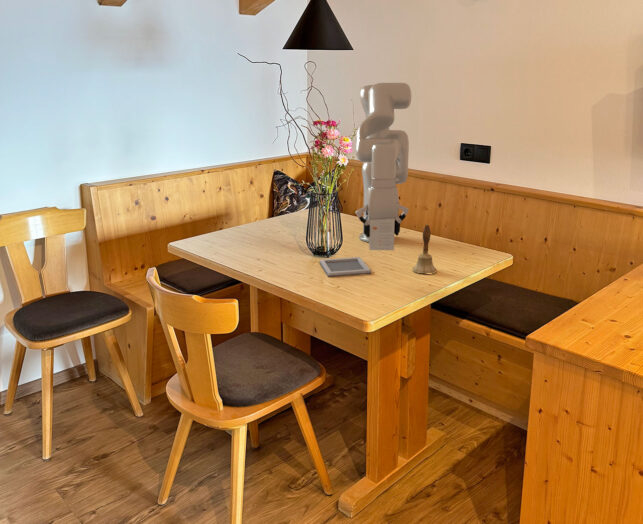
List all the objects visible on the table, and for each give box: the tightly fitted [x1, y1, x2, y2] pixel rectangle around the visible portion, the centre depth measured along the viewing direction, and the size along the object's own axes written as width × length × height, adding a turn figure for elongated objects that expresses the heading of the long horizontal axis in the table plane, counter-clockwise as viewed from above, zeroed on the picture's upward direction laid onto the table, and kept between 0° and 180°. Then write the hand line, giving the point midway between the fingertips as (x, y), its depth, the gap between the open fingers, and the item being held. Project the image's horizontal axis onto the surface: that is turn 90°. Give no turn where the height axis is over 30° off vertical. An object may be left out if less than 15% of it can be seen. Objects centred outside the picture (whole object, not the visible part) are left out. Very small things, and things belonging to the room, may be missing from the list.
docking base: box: [318, 256, 372, 278], centre depth 221 cm, size 15×14×1 cm
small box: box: [368, 218, 395, 251], centre depth 206 cm, size 8×6×10 cm
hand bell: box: [411, 224, 437, 275], centre depth 216 cm, size 8×8×16 cm
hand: (381, 235), depth 206 cm, fingers closed on small box, 9 cm apart
